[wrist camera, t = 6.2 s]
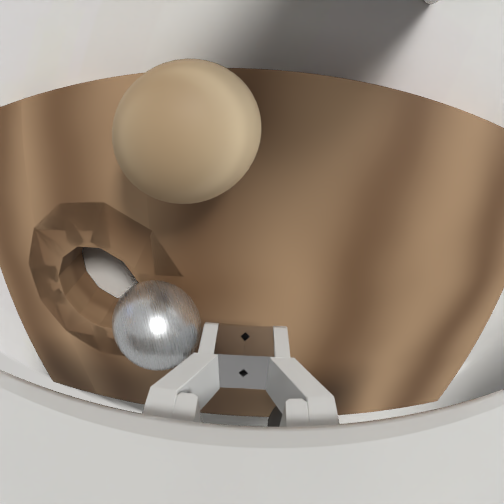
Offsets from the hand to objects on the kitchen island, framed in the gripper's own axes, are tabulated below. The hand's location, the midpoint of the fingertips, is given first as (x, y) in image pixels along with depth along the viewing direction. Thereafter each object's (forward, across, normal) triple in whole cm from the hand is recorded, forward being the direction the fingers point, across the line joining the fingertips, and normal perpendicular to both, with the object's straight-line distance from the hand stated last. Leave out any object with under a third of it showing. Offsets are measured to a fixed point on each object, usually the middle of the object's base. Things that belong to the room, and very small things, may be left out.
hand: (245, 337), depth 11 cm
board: (+4, 0, 0) cm, 4 cm away
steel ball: (0, +3, 0) cm, 3 cm away
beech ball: (0, +2, -7) cm, 7 cm away
